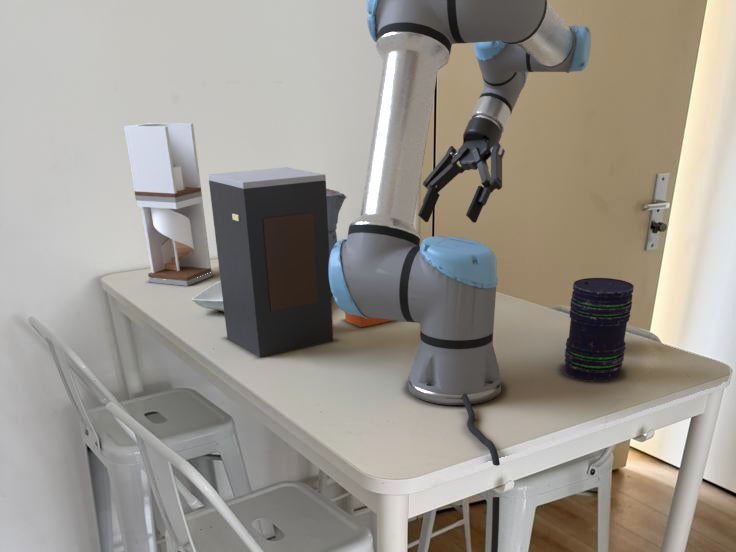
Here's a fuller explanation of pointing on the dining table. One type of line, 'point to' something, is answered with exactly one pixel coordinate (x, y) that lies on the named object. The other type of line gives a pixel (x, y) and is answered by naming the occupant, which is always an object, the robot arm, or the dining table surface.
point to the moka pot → (333, 214)
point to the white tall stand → (169, 201)
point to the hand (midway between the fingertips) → (446, 218)
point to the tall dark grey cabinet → (273, 258)
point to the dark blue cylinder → (597, 329)
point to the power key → (363, 320)
